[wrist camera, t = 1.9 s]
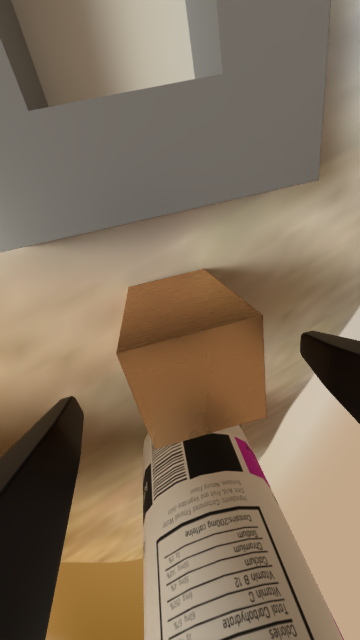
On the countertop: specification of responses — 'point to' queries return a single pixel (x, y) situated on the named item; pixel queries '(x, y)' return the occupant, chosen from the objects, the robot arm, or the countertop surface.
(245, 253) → the countertop surface
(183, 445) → the supplement can
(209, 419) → the wooden toy block
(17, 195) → the charcoal well block
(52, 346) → the countertop surface
